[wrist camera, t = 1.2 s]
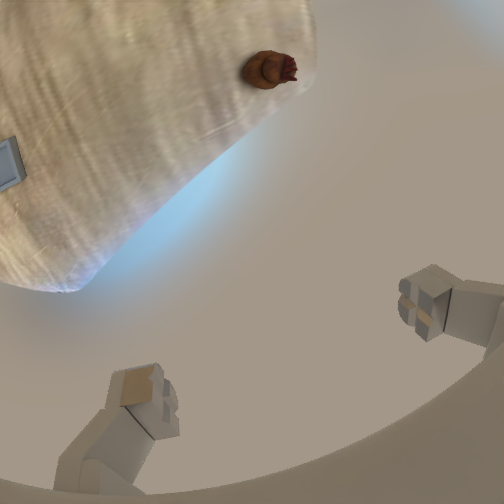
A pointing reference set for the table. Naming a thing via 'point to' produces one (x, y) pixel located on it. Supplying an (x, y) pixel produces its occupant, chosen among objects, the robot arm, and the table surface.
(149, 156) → the table surface
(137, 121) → the table surface
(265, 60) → the wooden figurine
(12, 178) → the tray
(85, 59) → the table surface
